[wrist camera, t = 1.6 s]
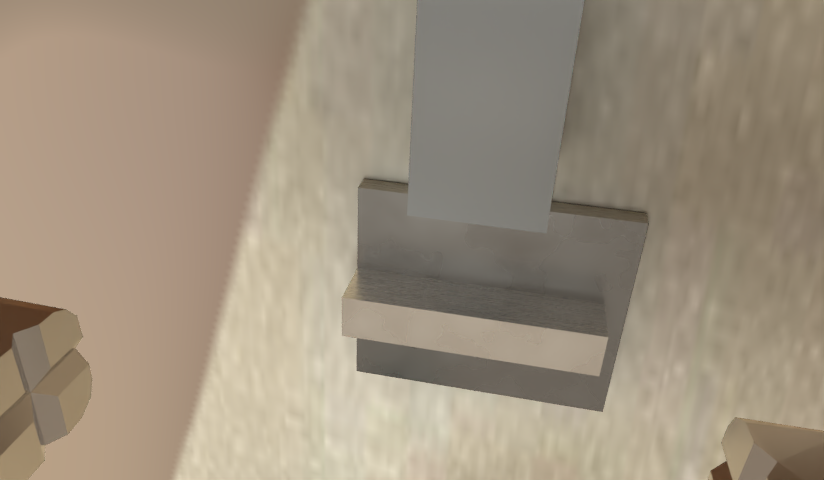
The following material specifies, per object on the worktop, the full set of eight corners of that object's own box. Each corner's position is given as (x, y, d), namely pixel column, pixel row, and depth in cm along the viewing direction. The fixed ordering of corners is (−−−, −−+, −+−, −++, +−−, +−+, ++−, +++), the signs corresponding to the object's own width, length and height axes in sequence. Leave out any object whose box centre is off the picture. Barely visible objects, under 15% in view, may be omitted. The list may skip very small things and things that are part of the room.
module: (585, -81, 23) (596, -71, 17) (548, 155, 27) (546, 233, 21) (456, -89, 23) (421, -81, 17) (440, 143, 27) (407, 215, 21)
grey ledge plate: (645, 212, 27) (656, 253, 24) (601, 397, 32) (605, 450, 29) (364, 178, 29) (341, 212, 26) (361, 358, 34) (342, 404, 31)
